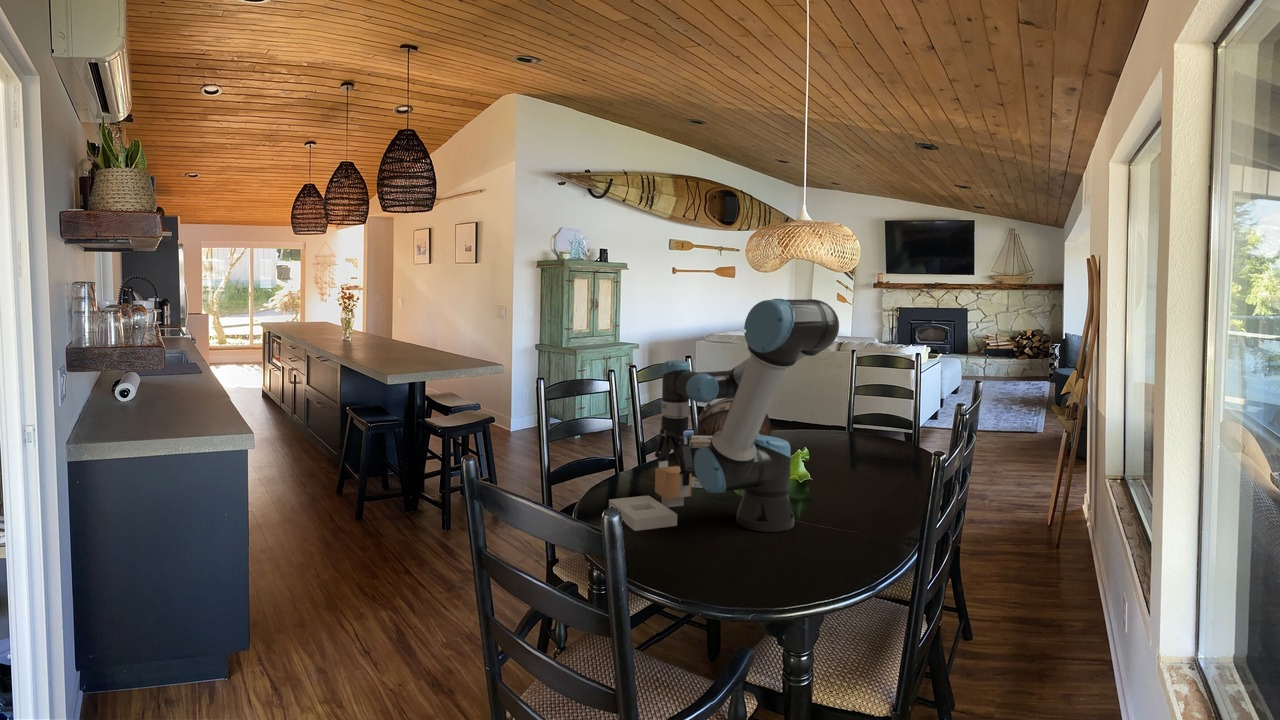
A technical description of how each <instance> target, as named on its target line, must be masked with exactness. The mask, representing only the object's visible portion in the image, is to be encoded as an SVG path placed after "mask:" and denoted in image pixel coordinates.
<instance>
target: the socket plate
mask: <svg viewBox="0 0 1280 720" xmlns="http://www.w3.org/2000/svg"><path fill="white" fill-rule="evenodd" d="M611 507H613V508H617V509H618V510H619V511H620V512H621V516H622V520H621V521H622V522H623V520H624V522H625V523H624V522H623V523H624V524H625V525H627V526H628V527H629V528H630V529H631V530H633V531H634V532H637V531H644V530H645V531H646V530H654V529H660V528H662V529H663V528H670V527H676V526H678V513H676V512H675V511H673V510H671V508H669V507H666V506H665V505H663V504H662V502H660V501H658V500H656V499H655V498H653V497H652V496H650V495H640V496H631V497H621V498H612V499H608V509H609V508H611Z"/></svg>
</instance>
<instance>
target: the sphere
mask: <svg viewBox="0 0 1280 720" xmlns="http://www.w3.org/2000/svg"><path fill="white" fill-rule="evenodd" d="M733 400H734V398H723V399H714V400H712V401H711V402H708V403H706V405H705V406H704V407H703V409H702V410H701V411H700V414H699V415H698V420H697V426H696V433H697V435H698V436H713V435H714V434H715V433H716V432H718V431H721V430H722V428H723V425H724V423H725V420H726V418H727V415H728V412H729V410H730V407H731V405H732V402H733ZM758 435H765V436H771V435H772V424H771V420H770V417H769V415H768V413H767V414H766V416H765V419H764V421H763V423H762V426H761V428H760V430H759V433H758ZM771 437H772V436H771Z"/></svg>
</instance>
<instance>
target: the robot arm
mask: <svg viewBox="0 0 1280 720" xmlns="http://www.w3.org/2000/svg"><path fill="white" fill-rule="evenodd" d="M744 330H745V332H744V339H745V341H746V343H747V350H748V351H749V353H750V356H749V357H748V358H747V359H745V360H744V361H742V362H741V363H739V364H738V365H736V366H735V367H733V368H731V369H729V370H719V371H704V372H703V371H699V372H698V371H691V364H690V362H689V361H686V360H679V359H678V360H675V359H673V360H671V359H670V360H666V361H665V362H664V363H663V368H662V375H661V376H662V378H661V379H662V380H661V381H662V383H661V384H662V385H661V387H662V388H661V389H662V390H661V391H662V393H661V395H662V396H661V398H662V401H661V402H662V403H661V405H660V407H661V414H662V416H661V428H660V429H659V431H660V432H659V437H658V442H657V444H656V448H655V452H654V457H655V458H657V461H658V463H657V464H658V466H657V468H662V467H669V456H670V453H671V451H672V450H673V453H674V454H675V456H676V459H677V463H678V466H680V470H681V471H680V473H679V497H684V498H686V496H688V497H690V496H689V475H690V473H694V467H695V472H696V476H697V478H698V481H699V483H700V484H701V486H702V487H703V488H702V489H704V490H705V491H706V492H708V493H712V494H717V493H719V494H724V493H727V492H733V491H738V490H743V495H742V498H741V499H740V500H741V501H740V503H739V506H738V508H737V511H736V523H737V524H738V525H739V526H741V527H742V528H745V529H748V530H752V531H756V532H757V531H758V532H766V533H777V532H785V531H786V532H787V531H789V530H791V529H792V528H794V526H795V514H794V511H793V508H792V503H791V500H790V497H789V496H790V494H789V493H790V477H791V475H790V474H791V459H792V456H791V445H790V443H789V441H787V440H785V439H783V438H779V437H777V436H776V437H775V436H765V435H758V433H759V430H760V428H761V426H762V423H763V421H764V419H765V416H766V414H767V415H768V411H769V409H770V406H771V405H772V402H773V399H774V396H775V395H776V392H777V389H778V387H779V385H780V383H781V380H782V377H783V376H784V373H785V371H786V369H787V368H791V367H794V366H795V364H796V363H797V362H798V361H800V360H801V359H803V358H805V357H813V356H816V355H818V354H819V353H821V352H823V351H824V350H826V349H827V348H829V347H830V346H831V345H832V344H833V343H834V342H835V340H836V339H837V337H838V334H839V330H840V321H839V317H838V314H837V313H836V311H835V310H834V308H833V307H831V306H830V305H829V304H828V303H827V302H825V301H823V300H819V299H813V298H812V299H811V298H808V299H784V298H772V299H766V300H762V301H759V302H758V303H756V304H755V305H754V306H753V307H752V308H750V310H749V312H748V313H747V316H746V318H745V322H744ZM723 398H734V400H733V402H732V405H731V407H730V410H729V412H728V415H727V418H726V420H725V423H724V425H723V428H722V430H721V431H718V432H716V433H715V434H714V435H713V437H712V439H711V442H710V444H709V446H708V447H702V448H700V449H698V450H697V452H696V454H695V458H694V466H693V461H692V455H691V450H690V441H691V438H690V437H689V436H684V435H685V434H684V433H685V432H686V431H688V429H689V417H688V415H689V413H690V408H689V407H690V400H691V401H693V402H696V403H703V404H704V403H705V404H708V403H709V402H711V401H712V400H714V399H723Z"/></svg>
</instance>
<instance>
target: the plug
mask: <svg viewBox="0 0 1280 720" xmlns="http://www.w3.org/2000/svg"><path fill="white" fill-rule="evenodd" d="M654 470H655V472H654V473H655V475H654V476H655V478H654V493H656V494H657V495H659V496H660V497H661V504H663V505H664V506H666V507H667V508H672V507H673V508H674V507H683V506H684V505H685V504H684V503H685V498H686V497H692V487H691V484H692V473H690V475H689V496H686V497H679V473H680V471H681V470H680V466H679V465H676V466H675V465H674V466H668V467H662V468H658V467H655V469H654Z"/></svg>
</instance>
